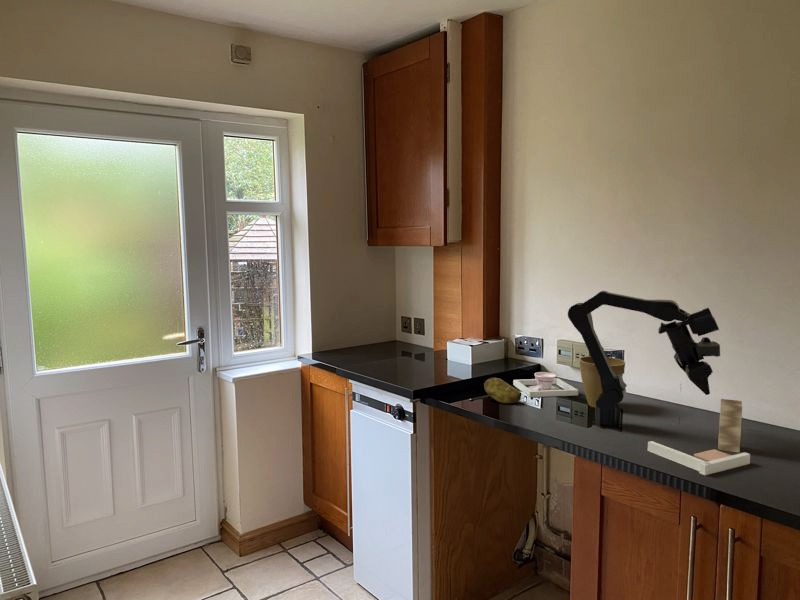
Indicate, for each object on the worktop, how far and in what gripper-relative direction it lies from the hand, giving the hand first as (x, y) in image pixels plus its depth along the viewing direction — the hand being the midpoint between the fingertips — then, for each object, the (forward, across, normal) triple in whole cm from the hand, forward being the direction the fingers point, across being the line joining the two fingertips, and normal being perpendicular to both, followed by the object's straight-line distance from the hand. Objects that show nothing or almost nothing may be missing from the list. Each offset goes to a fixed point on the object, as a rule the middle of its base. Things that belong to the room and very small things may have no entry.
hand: (703, 389), depth 171 cm
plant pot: (+3, +23, +30) cm, 38 cm away
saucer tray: (-4, +41, +47) cm, 63 cm away
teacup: (-3, +41, +48) cm, 63 cm away
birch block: (+13, -12, +2) cm, 18 cm away
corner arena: (+8, -21, +11) cm, 25 cm away
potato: (-11, +21, +60) cm, 65 cm away
